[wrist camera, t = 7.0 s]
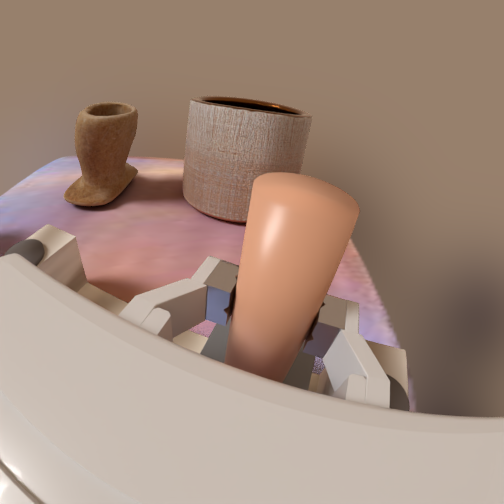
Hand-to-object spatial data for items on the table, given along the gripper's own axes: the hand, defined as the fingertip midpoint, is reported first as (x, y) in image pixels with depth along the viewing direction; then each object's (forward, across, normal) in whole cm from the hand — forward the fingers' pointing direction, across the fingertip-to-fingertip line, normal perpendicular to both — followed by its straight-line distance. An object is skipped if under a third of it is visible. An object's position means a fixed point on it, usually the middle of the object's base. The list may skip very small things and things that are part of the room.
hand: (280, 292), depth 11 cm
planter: (+31, -12, -12) cm, 35 cm away
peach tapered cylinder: (-1, 0, -10) cm, 10 cm away
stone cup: (+23, -32, -12) cm, 41 cm away
